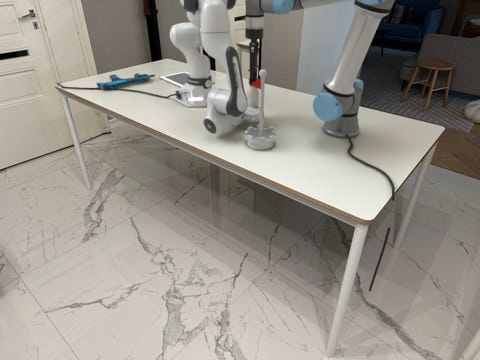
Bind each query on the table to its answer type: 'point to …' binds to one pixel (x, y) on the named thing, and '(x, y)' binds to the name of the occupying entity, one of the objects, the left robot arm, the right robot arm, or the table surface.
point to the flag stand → (260, 122)
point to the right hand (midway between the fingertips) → (253, 84)
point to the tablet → (177, 78)
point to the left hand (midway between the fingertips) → (253, 106)
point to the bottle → (253, 97)
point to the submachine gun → (124, 81)
